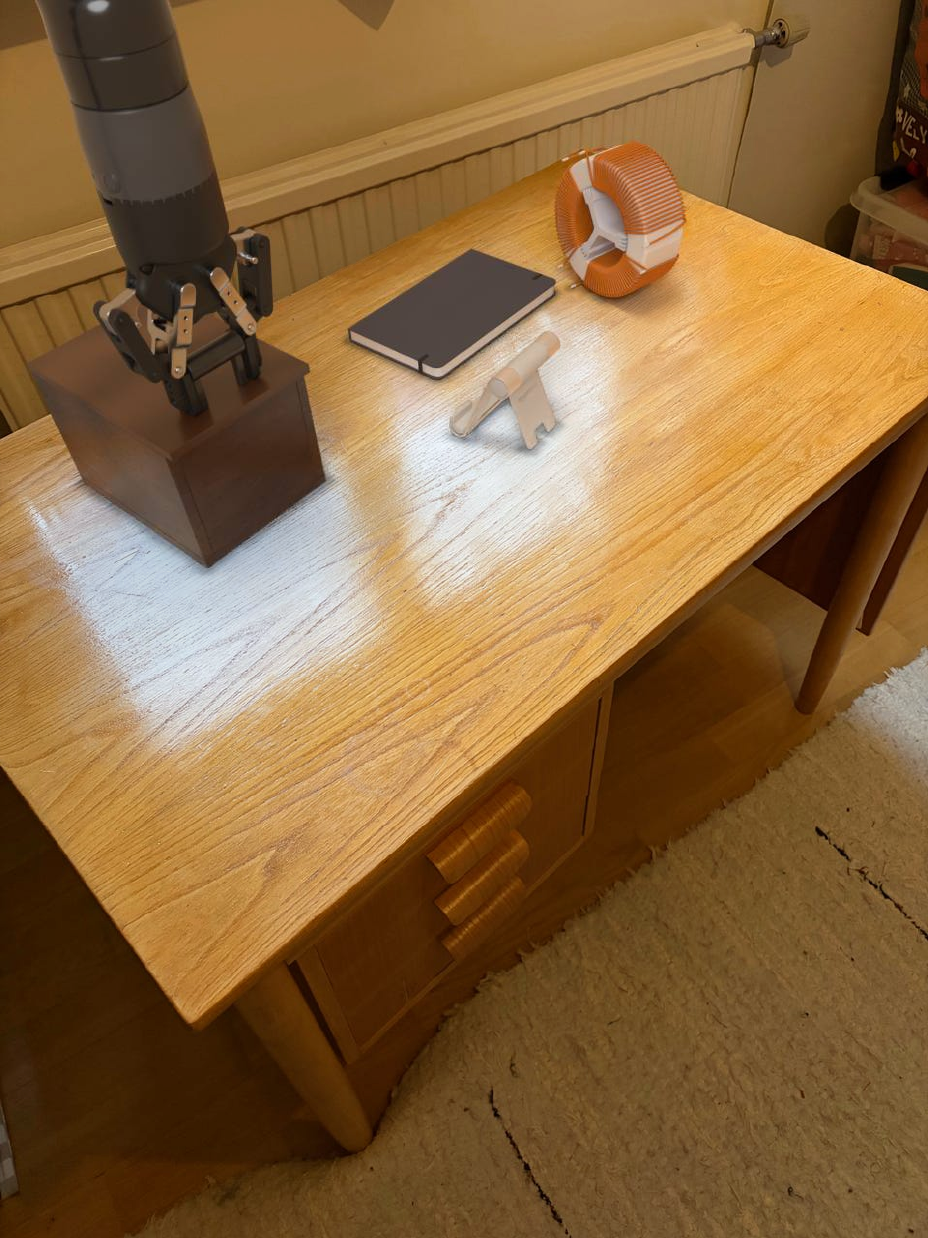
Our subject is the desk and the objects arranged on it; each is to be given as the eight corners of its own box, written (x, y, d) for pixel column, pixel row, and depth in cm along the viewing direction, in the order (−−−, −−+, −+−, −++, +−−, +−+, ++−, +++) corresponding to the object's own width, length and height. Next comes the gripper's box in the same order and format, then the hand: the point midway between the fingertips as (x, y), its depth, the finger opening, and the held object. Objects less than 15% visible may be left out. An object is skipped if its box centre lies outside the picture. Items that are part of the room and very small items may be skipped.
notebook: (471, 260, 105) (349, 341, 95) (471, 247, 104) (347, 328, 94) (558, 292, 100) (438, 381, 90) (559, 279, 99) (437, 368, 88)
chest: (326, 480, 80) (303, 368, 71) (207, 568, 74) (165, 457, 65) (201, 409, 88) (165, 299, 79) (83, 482, 82) (30, 372, 72)
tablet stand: (499, 388, 89) (499, 313, 82) (566, 414, 85) (571, 338, 79) (449, 434, 84) (445, 358, 78) (518, 462, 81) (519, 386, 75)
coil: (588, 253, 105) (598, 120, 94) (679, 303, 97) (702, 164, 86) (544, 272, 103) (549, 138, 92) (634, 326, 95) (652, 186, 84)
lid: (310, 372, 71) (299, 313, 67) (172, 462, 64) (151, 403, 60) (165, 298, 79) (147, 242, 75) (29, 371, 72) (2, 314, 68)
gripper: (204, 115, 60) (257, 334, 73) (20, 194, 53) (115, 420, 66) (278, 141, 57) (320, 366, 70) (92, 229, 50) (177, 460, 63)
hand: (220, 391), depth 68 cm, fingers closed on lid, 5 cm apart
